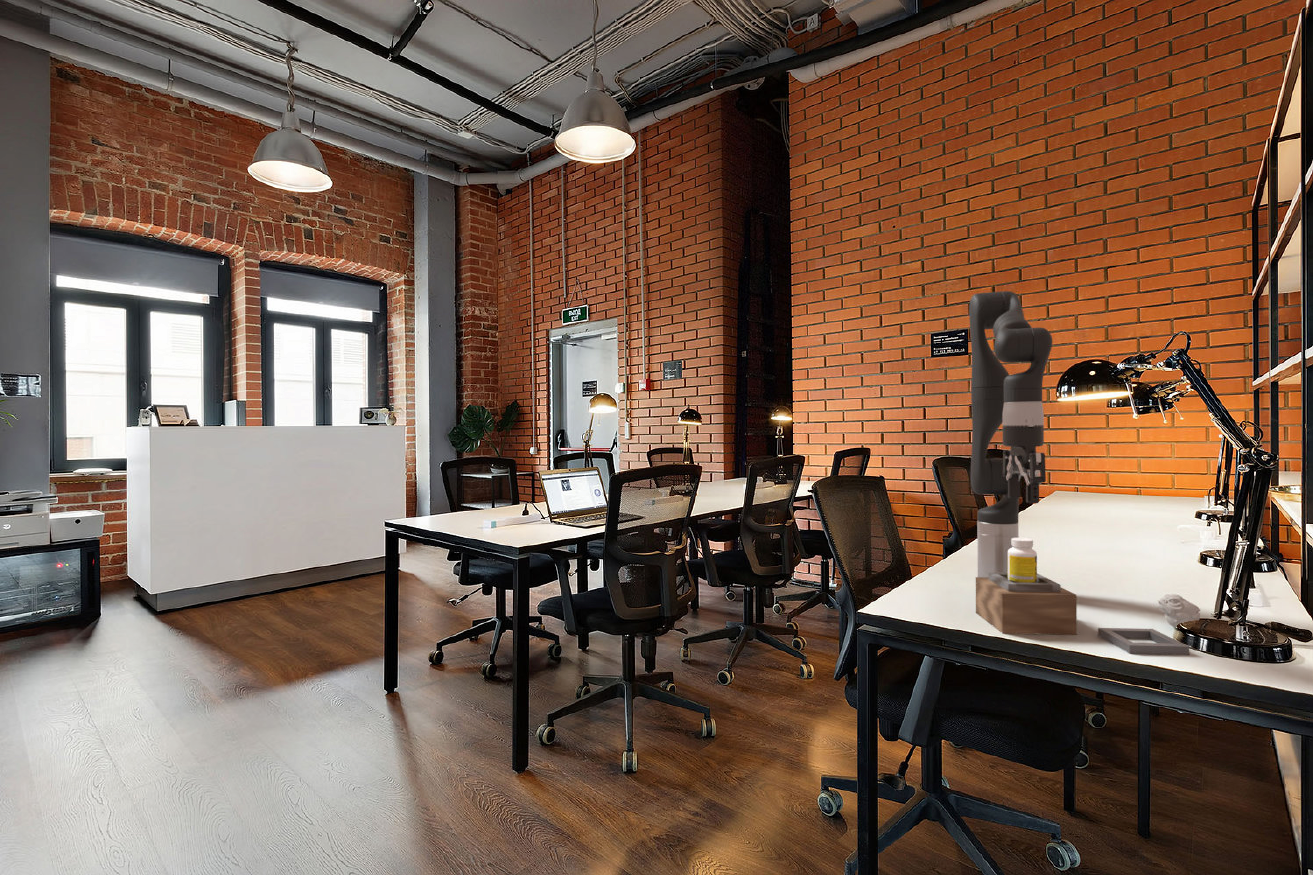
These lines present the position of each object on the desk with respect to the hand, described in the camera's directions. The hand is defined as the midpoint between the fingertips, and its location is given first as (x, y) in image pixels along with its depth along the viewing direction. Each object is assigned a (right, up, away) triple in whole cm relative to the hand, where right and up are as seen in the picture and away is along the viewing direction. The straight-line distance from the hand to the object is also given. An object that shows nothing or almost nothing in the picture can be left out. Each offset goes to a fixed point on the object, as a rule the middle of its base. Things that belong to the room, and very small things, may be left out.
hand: (1023, 500), depth 134 cm
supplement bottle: (0, -18, +1) cm, 18 cm away
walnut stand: (0, -26, 0) cm, 26 cm away
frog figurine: (+29, -26, -5) cm, 39 cm away
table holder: (+15, -26, -13) cm, 33 cm away
